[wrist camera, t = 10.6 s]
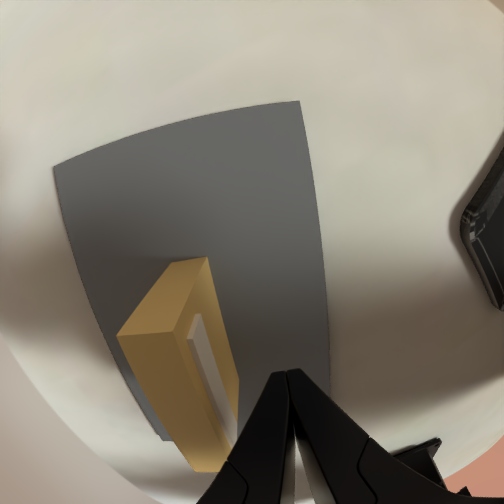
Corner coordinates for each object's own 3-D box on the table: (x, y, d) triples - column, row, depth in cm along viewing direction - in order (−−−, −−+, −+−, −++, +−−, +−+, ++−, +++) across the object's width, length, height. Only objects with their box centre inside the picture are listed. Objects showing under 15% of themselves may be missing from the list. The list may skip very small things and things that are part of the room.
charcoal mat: (328, 421, 14) (329, 426, 13) (164, 436, 14) (162, 440, 14) (297, 103, 9) (299, 100, 9) (59, 166, 9) (53, 166, 9)
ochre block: (242, 379, 12) (239, 471, 7) (209, 382, 12) (195, 471, 7) (211, 255, 10) (179, 330, 5) (171, 262, 10) (115, 335, 5)
